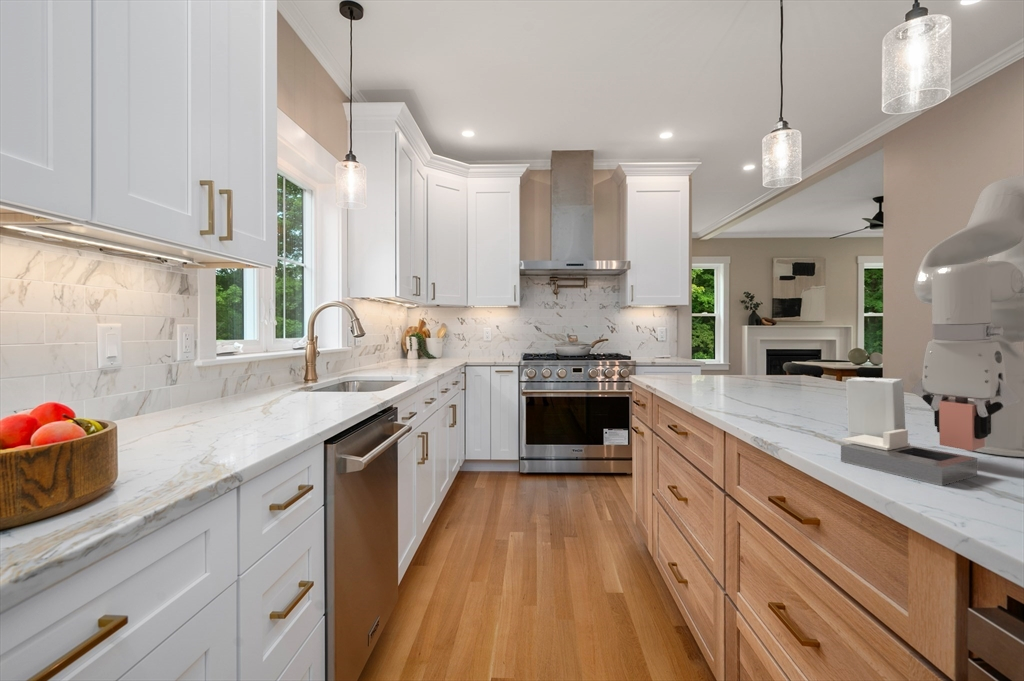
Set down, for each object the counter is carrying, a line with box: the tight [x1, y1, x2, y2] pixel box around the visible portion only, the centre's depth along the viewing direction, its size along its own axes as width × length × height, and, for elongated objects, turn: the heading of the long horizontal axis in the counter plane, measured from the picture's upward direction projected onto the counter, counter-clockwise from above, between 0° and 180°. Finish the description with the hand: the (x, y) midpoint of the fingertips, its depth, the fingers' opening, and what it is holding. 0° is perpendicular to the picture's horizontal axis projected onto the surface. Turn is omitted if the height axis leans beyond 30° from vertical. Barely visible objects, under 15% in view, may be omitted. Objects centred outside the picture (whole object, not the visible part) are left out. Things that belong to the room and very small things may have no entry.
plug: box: [939, 397, 985, 452], centre depth 82 cm, size 4×4×10 cm
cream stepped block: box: [841, 429, 911, 450], centre depth 87 cm, size 8×8×3 cm
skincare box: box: [845, 376, 906, 444], centre depth 93 cm, size 8×6×15 cm
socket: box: [840, 443, 978, 487], centre depth 82 cm, size 12×15×3 cm
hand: (961, 433), depth 82 cm, fingers closed on plug, 4 cm apart
